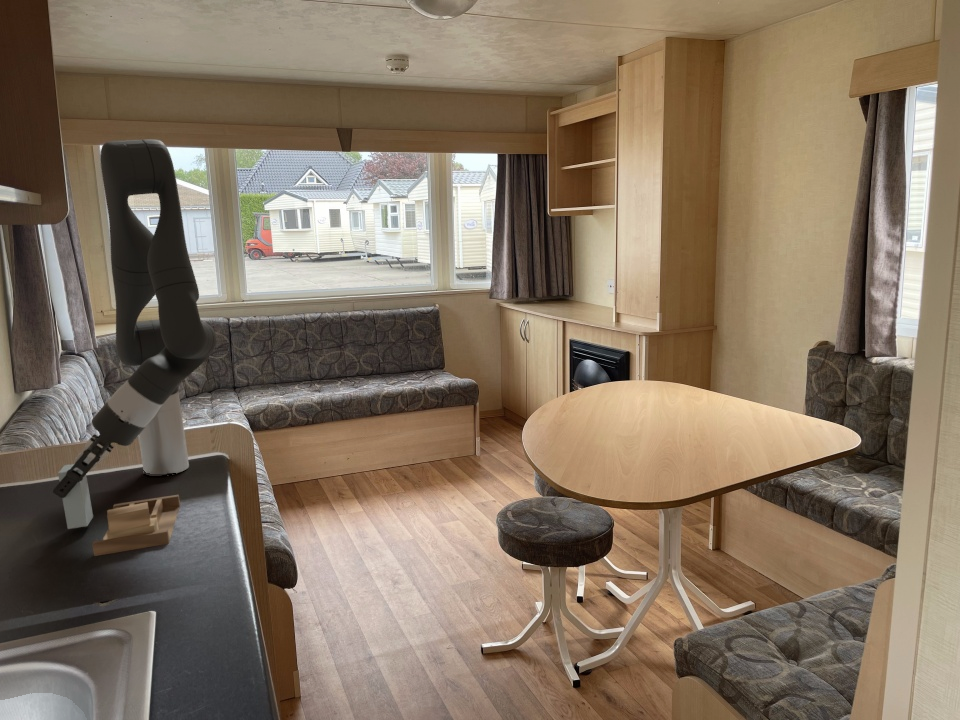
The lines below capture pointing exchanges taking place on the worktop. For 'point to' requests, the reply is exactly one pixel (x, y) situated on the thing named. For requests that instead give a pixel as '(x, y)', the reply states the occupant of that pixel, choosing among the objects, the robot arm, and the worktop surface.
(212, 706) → the worktop surface
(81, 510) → the block
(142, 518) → the offcut top
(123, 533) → the offcut low
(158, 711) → the worktop surface
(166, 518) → the rack
